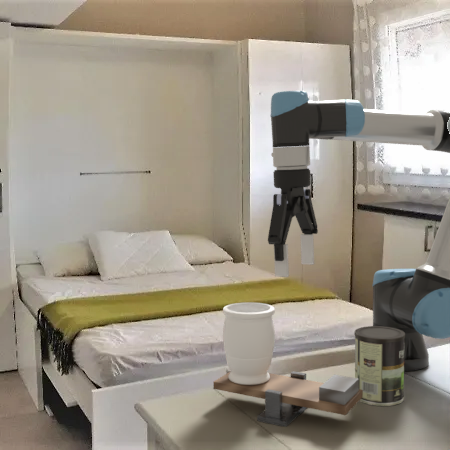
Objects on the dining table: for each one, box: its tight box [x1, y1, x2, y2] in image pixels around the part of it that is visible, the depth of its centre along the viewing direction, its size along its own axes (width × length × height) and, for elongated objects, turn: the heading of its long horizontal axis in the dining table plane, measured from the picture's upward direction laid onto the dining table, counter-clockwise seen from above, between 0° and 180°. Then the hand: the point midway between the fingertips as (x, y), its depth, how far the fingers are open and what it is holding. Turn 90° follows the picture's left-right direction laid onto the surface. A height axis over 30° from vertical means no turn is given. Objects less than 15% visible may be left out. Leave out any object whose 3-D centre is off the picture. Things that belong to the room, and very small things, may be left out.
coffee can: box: [353, 325, 405, 407], centre depth 136 cm, size 10×10×14 cm
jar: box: [222, 301, 276, 385], centre depth 132 cm, size 11×10×15 cm
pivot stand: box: [256, 370, 307, 428], centre depth 129 cm, size 6×14×6 cm, turn 150°
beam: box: [213, 370, 363, 416], centre depth 129 cm, size 28×10×4 cm, turn 60°
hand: (295, 270), depth 135 cm, fingers open, 13 cm apart
